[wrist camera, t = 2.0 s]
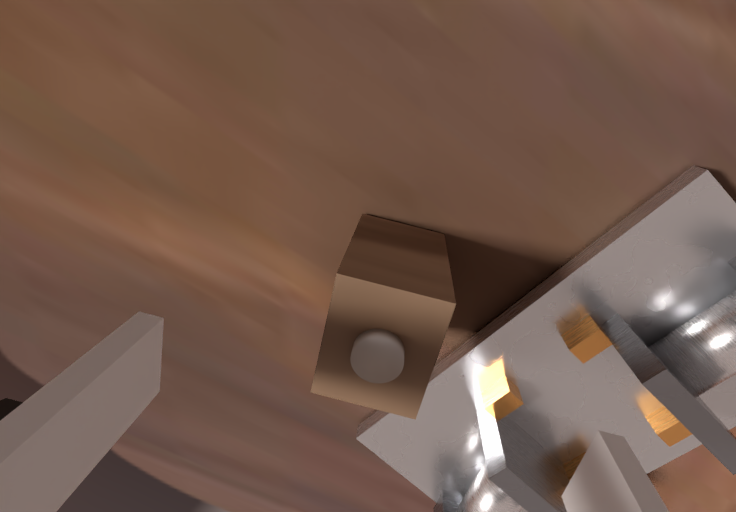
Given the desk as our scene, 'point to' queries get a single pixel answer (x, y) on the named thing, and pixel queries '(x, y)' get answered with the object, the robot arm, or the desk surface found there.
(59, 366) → the desk surface
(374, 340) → the block
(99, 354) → the robot arm
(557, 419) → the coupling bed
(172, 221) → the desk surface
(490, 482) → the shaft
